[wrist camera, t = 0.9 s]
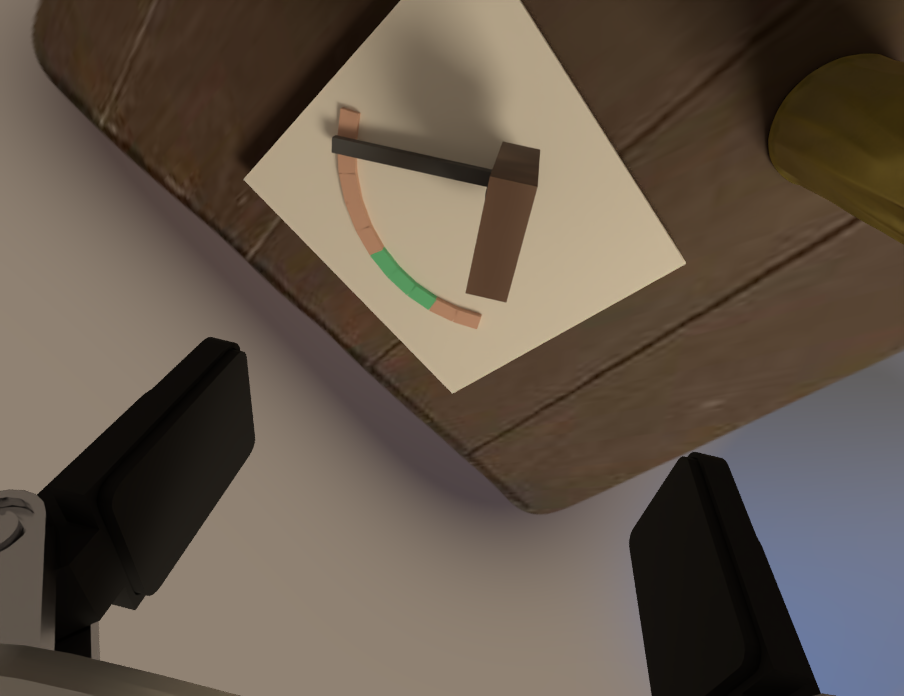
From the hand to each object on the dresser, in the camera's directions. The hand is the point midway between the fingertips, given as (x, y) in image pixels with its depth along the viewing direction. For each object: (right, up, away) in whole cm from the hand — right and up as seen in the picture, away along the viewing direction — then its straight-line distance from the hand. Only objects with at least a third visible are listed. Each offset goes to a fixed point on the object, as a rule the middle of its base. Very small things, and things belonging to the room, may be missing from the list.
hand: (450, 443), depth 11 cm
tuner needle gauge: (-1, +12, +16) cm, 21 cm away
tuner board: (+1, +11, +20) cm, 22 cm away
